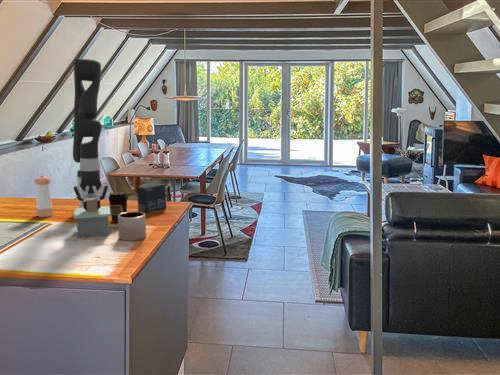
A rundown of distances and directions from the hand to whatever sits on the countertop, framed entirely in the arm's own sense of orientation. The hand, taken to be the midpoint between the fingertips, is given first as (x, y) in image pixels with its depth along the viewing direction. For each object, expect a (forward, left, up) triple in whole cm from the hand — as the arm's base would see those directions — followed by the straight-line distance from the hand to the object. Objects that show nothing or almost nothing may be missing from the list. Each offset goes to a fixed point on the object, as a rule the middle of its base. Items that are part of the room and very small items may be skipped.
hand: (92, 209), depth 210 cm
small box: (-36, +28, -10) cm, 47 cm away
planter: (+12, +15, -10) cm, 22 cm away
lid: (0, 0, -2) cm, 2 cm away
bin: (0, 0, -10) cm, 10 cm away
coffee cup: (-16, +11, -10) cm, 22 cm away
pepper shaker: (-36, -22, -10) cm, 43 cm away
